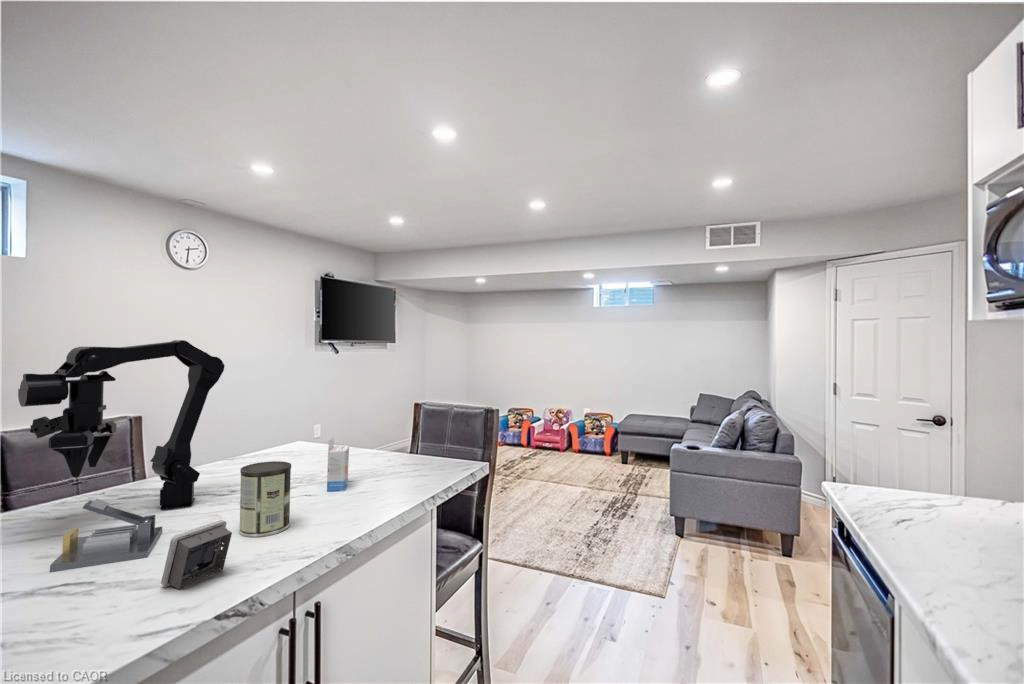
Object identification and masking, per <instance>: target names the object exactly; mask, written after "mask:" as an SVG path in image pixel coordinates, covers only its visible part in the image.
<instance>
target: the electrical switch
mask: <svg viewBox="0 0 1024 684" xmlns="http://www.w3.org/2000/svg"><path fill="white" fill-rule="evenodd" d="M232 534H233V532H232V531H230V530H229V529H228V528H227V522H226V520H223V519H220V520H219V519H218V520H217V521H213V522H210V523H208V524H204V525H202V526H199V527H195V528H193V529H190V530H187V531H184V532H181V533H178V534H175V535H174V536H173V537H172V538H171V539H170V544H169V547H168V552H167V556H166V560H165V564H164V568H163V573H162V574H163V575H162V576H161V582H160V584H161V585H162V587H164V588H168V587H170V586H172V587H174V588H176V589H178V590H179V591H180V590H182V589H184V588H187V587H189V586H191V585H194V584H196V583H199V582H200V581H203V580H205V579H208V578H210V577H212V576H214V575H216V574H218V573H219V574H220V572H223V571H224V566H225V563H226V559H227V554H228V550H229V547H230V543H231V538H232V536H233V535H232ZM196 575H197V576H196Z"/></svg>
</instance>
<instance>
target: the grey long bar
mask: <svg viewBox="0 0 1024 684" xmlns="http://www.w3.org/2000/svg"><path fill="white" fill-rule="evenodd" d="M109 505H110V502H107V501H104V500H102V499H99V498H95V499H94V500H88V501H87V502H86V503H85V504H84V505H83V506H82V509H84V510H86V511H89V512H93V513H96V514H99V515H102V516H106V517H110V518H112V519H116V520H119V521H123V522H125V523H129V524H131V525H137V526H138V524H139V523H145V522H151V523H152V521H153V519H152V518H150V517H149V518H145V516H141V515H138V514H135V513H133V512H129V511H125V510H122V509H120V508H119V509H118V508H116V507H112V506H109Z"/></svg>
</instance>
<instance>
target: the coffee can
mask: <svg viewBox="0 0 1024 684" xmlns="http://www.w3.org/2000/svg"><path fill="white" fill-rule="evenodd" d="M291 463H292V462H291ZM291 463H290V462H288V461H280V460H279V461H277V460H275V461H274V460H273V461H261V462H256V463H251V464H247V465H244V466H242V467H241V468H240V470H239V471H240V494H239V495H240V497H239V499H240V500H239V501H240V503H239V530H238V532H239V535H241V536H243V537H249V538H262V537H267V536H273V535H276V534H279V533H282V532H284V531H285V530H287V529H289V527H290V525H291V522H290V520H291V519H290V512H291V511H290V510H291V509H290V508H291V507H290V506H291V473H292V471H291V469H292V464H291Z"/></svg>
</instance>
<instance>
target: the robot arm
mask: <svg viewBox="0 0 1024 684" xmlns="http://www.w3.org/2000/svg"><path fill="white" fill-rule="evenodd" d="M170 357H175V358H176V359H177V360H178V361H179V362H180V363H181V364H183V365H184V366H186V367H188V373H187V381H188V388H187V391H186V393H185V396H184V399H183V402H182V405H181V406H180V410H179V413H178V415H177V417H176V421H175V423H174V427H173V429H172V430H171V431H172V432H171V434H170V437H169V440H167V442H166V443H165V444H164V445H162V446H161V445H156V447H155V449H154V454H153V456H152V458H151V460H150V462H151V463H152V465H151V470H153V472H154V474H157V475H158V476H159V478H160V480H161V482H162V481H164V482H163V483H162V487H161V488H160V490H159V506H160V511H163V510H170V509H171V510H172V509H173V510H174V509H179V508H189V507H192V506H193V504H194V502H195V501H196V497H195V496H194V494H195V483H196V482H198V479H199V477H200V472H199V471H197V470H196V469H195V468H193V467H192V466H191V459H192V450H191V449H192V448H191V442H192V439H193V436H194V433H195V431H196V428H197V426H198V422H199V420H200V417H201V414H202V411H203V409H204V406H205V403H206V401H207V398H208V396H209V395H208V394H209V392H210V390H211V389H212V388H213V387H214V386H215V385H216V384H217V383H218V382H219V380H220V378H221V376H222V375H223V373H224V370H225V364H224V362H223V360H222V359H221V358H220V357H218V356H213V355H211V354H209V353H208V352H205V351H203V349H199V348H198V347H196V346H194V345H193V344H191V342H189V341H188V340H183V339H181V340H179V339H177V340H176V339H174V340H171V341H165V342H155V343H148V344H140V345H139V344H137V345H129V346H118V347H115V346H114V347H113V346H112V347H111V346H77V347H74V348H72V349H71V350H70V351H68V353H67V355H66V358H65V359H66V360H65V361H64V362H63V363H62V365H61V366H59V367H58V368H57V369H56V370H55V371H54V373H39V374H38V373H23V375H22V380H21V382H20V384H19V385H20V386H19V388H18V389H17V396H18V402H19V405H20V407H22V408H23V407H25V408H26V407H36V406H37V407H40V406H50V405H51V406H52V405H59V404H61V403H62V402H63V401H65V400H67V399H68V407H65V408H64V409H63V410H62V415H60V416H56V417H53V418H49V417H48V416H45V415H44V416H42V417H39V418H36V419H33V420H32V424H31V425H29V427H30V429H29V433H31V434H34V435H35V436H36V439H41V438H43V437H46V436H50V435H52V436H51V437H49V438H48V449H51V450H52V451H53V452H57V453H59V454H60V455H62V456H63V457H64V459H65V462H66V464H67V466H68V470H69V472H70V474H71V477H72V478H79V477H80V476H81V474H82V472H83V470H84V469H85V465H86V463H87V462H88V466H89V468H95V467H97V465H98V463H99V462H100V461H101V458H102V456H103V455H104V452H105V450H106V449H107V448H108V445H110V442H111V441H112V439H113V437H114V435H115V433H116V432H117V425H118V424H117V423H116V422H114V421H113V420H104V411H105V410H107V404H104V383H105V382H115V381H116V377H114V376H112V375H111V374H110V373H109V372H108V371H107V370H108V369H111V368H115V367H117V366H119V365H122V364H127V363H133V362H140V361H146V360H153V359H163V358H170ZM96 372H99V373H98V374H96ZM88 373H95V374H88ZM71 378H72V379H71ZM73 378H74V379H73ZM75 378H77V379H75ZM78 378H79V379H78ZM59 431H60V432H59ZM108 433H109V434H108Z"/></svg>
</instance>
